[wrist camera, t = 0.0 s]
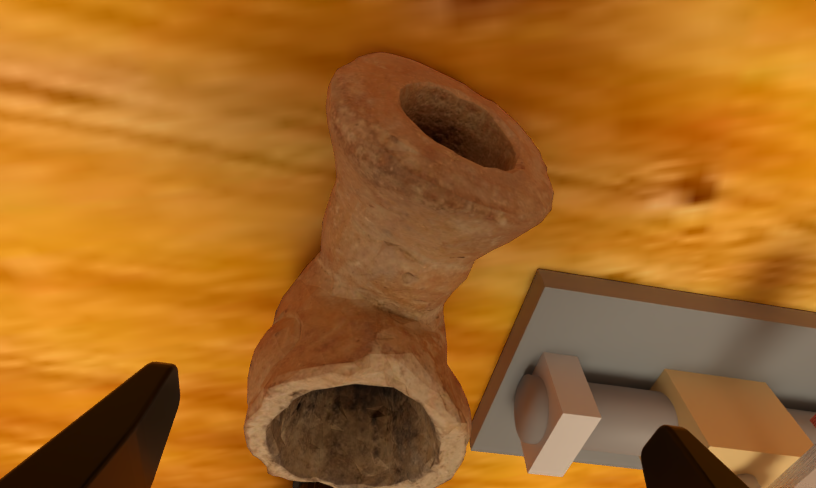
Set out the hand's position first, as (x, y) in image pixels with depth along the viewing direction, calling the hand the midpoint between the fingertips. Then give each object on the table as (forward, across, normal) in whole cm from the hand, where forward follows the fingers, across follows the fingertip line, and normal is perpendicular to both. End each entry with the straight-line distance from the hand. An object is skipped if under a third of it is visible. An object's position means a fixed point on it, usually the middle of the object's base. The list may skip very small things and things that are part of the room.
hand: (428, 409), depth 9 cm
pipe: (+15, 0, +5) cm, 16 cm away
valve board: (+15, -20, +13) cm, 28 cm away
